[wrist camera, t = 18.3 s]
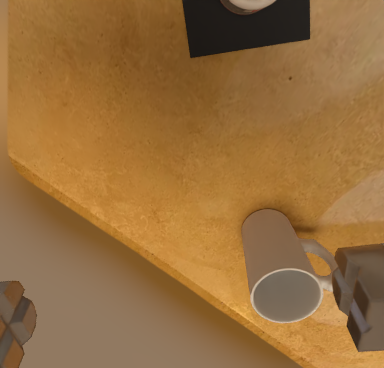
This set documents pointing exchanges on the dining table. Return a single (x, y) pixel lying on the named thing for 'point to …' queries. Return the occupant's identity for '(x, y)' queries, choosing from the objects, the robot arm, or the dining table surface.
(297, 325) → the dining table surface
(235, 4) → the pill bottle
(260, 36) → the mat
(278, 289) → the mug
